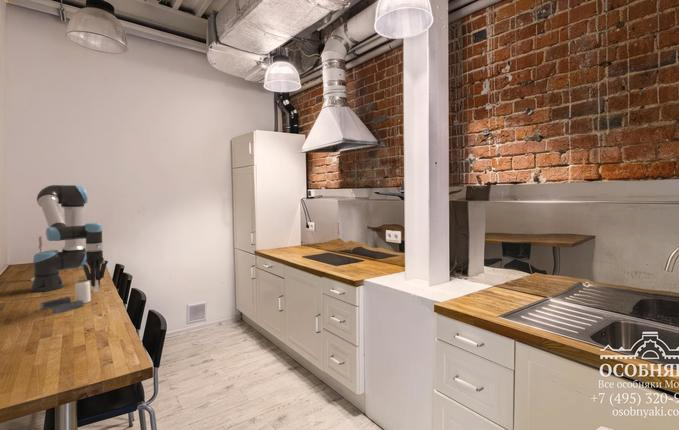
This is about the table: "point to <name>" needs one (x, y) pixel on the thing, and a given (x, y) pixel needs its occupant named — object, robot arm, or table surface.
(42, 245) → the candlestick
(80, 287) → the can
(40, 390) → the table surface
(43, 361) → the table surface
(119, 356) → the table surface
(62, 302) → the slot guide
